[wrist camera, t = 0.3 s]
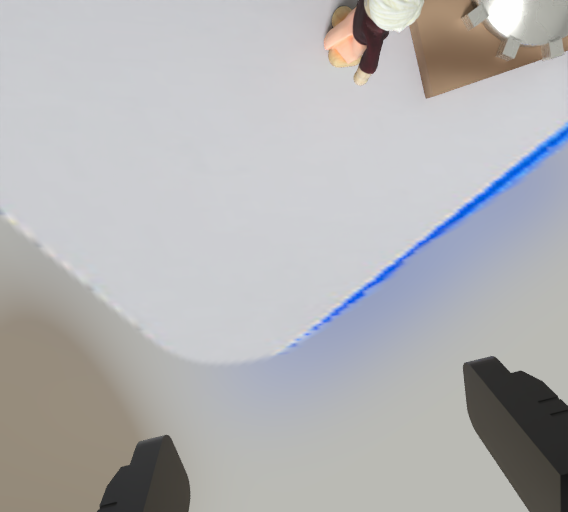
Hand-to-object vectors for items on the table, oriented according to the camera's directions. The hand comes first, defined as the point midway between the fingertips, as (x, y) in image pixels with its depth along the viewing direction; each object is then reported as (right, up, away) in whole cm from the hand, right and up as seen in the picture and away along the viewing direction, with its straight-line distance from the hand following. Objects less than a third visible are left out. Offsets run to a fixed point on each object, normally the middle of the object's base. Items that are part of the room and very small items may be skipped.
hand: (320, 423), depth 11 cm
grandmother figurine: (+4, +22, +23) cm, 32 cm away
